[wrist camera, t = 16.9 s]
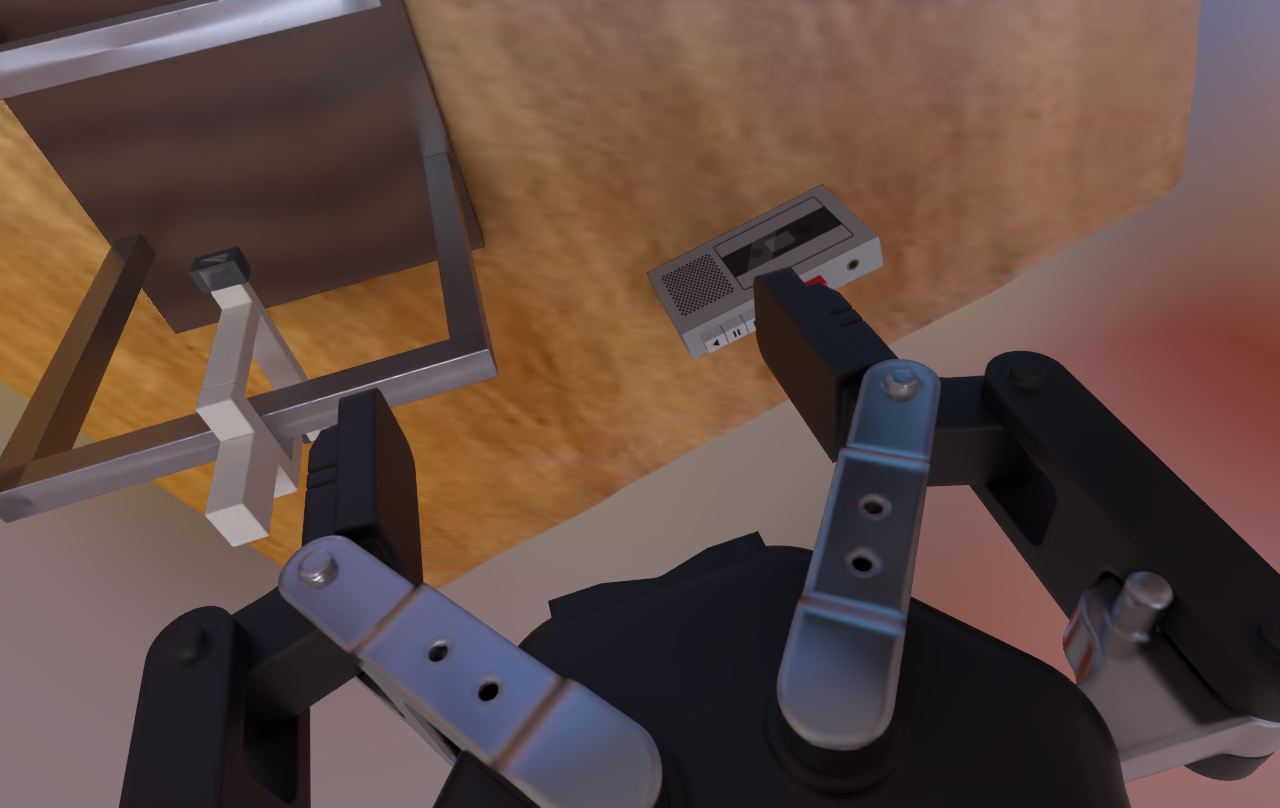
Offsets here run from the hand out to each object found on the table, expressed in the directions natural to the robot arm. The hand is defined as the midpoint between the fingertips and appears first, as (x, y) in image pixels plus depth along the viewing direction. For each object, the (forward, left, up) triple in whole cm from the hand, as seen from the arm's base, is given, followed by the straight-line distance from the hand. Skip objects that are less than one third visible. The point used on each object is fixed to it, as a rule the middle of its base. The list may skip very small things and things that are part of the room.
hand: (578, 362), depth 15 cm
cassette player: (+23, +17, -38) cm, 48 cm away
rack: (+4, -14, -38) cm, 41 cm away
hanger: (+11, -13, -22) cm, 28 cm away
